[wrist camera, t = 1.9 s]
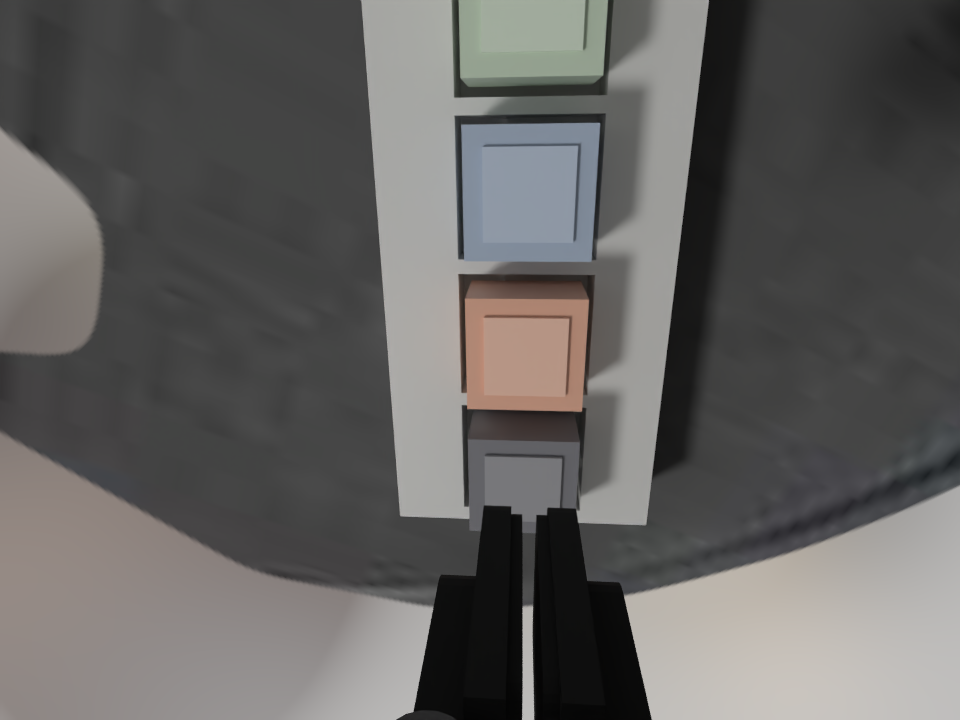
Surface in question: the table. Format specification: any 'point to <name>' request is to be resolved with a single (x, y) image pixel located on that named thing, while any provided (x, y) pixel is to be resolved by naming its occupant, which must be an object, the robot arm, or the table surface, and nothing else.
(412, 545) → the table surface
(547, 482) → the key charcoal
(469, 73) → the key sage
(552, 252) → the key slate
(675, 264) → the keypad
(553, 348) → the key terracotta
